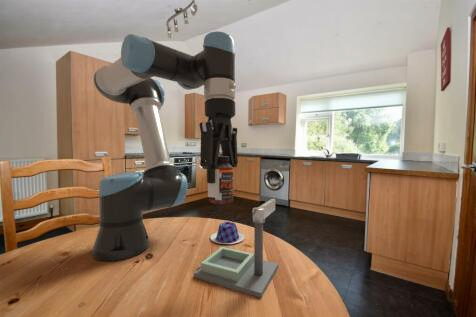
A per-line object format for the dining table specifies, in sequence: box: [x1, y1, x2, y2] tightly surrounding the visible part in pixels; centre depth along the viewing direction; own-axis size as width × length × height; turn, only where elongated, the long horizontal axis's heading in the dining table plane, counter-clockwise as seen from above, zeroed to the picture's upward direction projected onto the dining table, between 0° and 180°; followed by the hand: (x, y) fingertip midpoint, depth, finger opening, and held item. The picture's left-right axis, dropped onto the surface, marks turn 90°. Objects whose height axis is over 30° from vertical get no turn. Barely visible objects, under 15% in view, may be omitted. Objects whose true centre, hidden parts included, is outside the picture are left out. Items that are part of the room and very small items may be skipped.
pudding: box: [210, 221, 245, 245], centre depth 75 cm, size 12×12×5 cm
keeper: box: [252, 198, 276, 224], centre depth 56 cm, size 13×3×3 cm, turn 154°
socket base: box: [193, 222, 279, 299], centre depth 54 cm, size 17×13×13 cm
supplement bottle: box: [208, 155, 234, 205], centre depth 53 cm, size 6×6×11 cm
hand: (221, 194), depth 53 cm, fingers closed on supplement bottle, 6 cm apart
